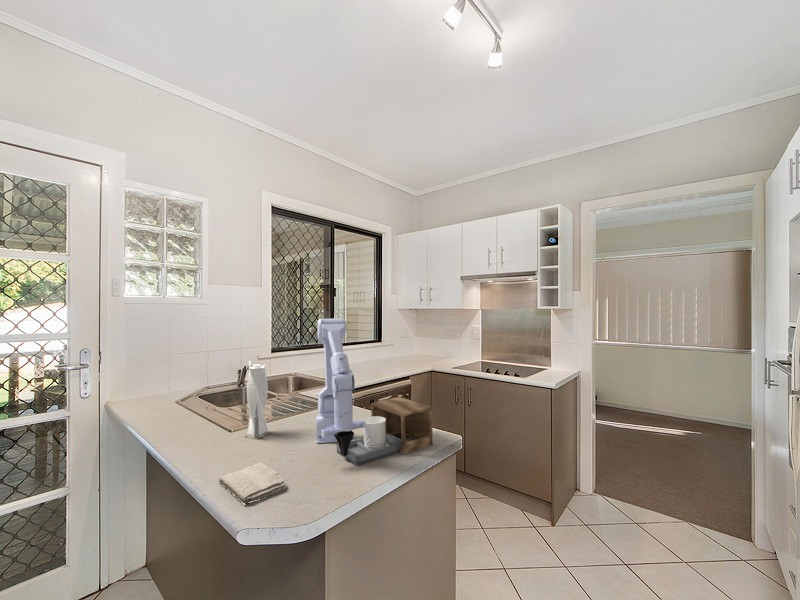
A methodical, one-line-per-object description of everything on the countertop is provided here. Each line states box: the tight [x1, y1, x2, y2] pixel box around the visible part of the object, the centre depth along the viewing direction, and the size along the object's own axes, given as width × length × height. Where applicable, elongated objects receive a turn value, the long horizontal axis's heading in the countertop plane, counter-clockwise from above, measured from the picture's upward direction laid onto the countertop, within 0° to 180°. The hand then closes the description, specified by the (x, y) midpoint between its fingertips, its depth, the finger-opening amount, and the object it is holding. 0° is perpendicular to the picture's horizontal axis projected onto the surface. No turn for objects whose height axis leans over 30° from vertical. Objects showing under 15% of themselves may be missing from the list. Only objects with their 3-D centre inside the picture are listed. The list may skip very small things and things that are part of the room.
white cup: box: [362, 415, 386, 450], centre depth 119 cm, size 8×8×10 cm
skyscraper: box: [245, 360, 272, 440], centre depth 136 cm, size 8×8×28 cm
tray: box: [336, 433, 407, 467], centre depth 118 cm, size 19×13×3 cm
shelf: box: [370, 396, 434, 455], centre depth 126 cm, size 13×18×13 cm
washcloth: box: [218, 462, 287, 505], centre depth 96 cm, size 12×18×3 cm, turn 47°
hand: (344, 454), depth 112 cm, fingers closed
